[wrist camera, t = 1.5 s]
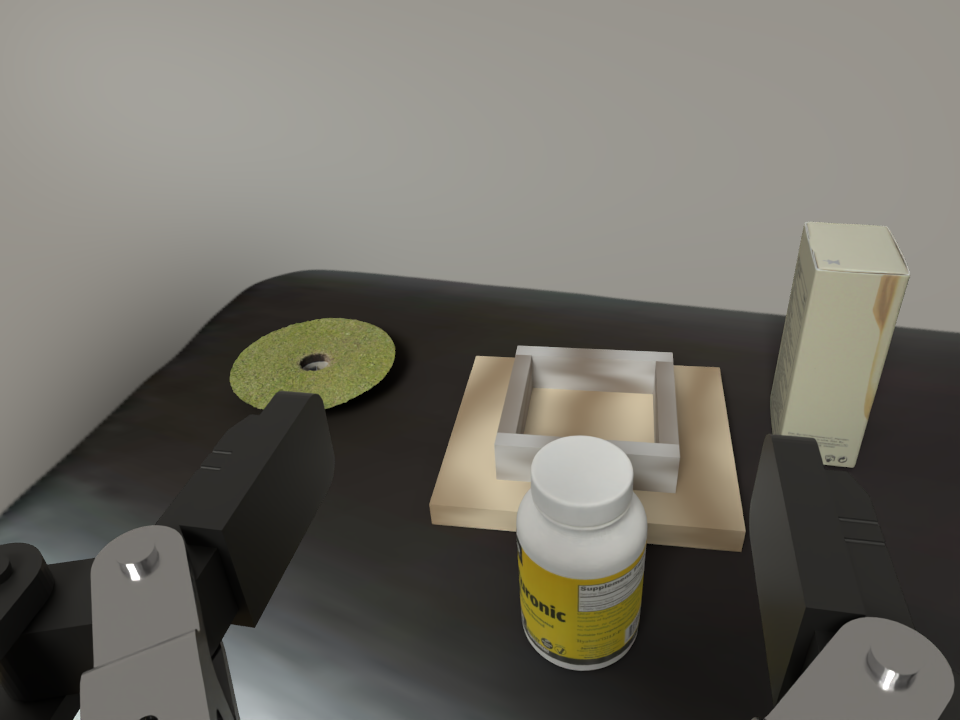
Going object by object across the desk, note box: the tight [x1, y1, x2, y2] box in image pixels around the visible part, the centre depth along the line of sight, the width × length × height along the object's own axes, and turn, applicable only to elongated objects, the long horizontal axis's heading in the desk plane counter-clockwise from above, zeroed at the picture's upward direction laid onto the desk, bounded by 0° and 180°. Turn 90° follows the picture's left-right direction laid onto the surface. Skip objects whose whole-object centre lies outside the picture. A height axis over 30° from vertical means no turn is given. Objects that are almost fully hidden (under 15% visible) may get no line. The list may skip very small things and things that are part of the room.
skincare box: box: [770, 222, 910, 468], centre depth 40 cm, size 6×4×12 cm
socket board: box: [429, 346, 746, 552], centre depth 43 cm, size 16×14×4 cm
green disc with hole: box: [230, 318, 395, 409], centre depth 51 cm, size 11×11×2 cm
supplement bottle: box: [516, 435, 648, 671], centre depth 31 cm, size 5×5×10 cm
